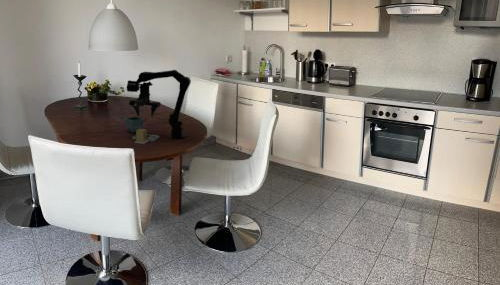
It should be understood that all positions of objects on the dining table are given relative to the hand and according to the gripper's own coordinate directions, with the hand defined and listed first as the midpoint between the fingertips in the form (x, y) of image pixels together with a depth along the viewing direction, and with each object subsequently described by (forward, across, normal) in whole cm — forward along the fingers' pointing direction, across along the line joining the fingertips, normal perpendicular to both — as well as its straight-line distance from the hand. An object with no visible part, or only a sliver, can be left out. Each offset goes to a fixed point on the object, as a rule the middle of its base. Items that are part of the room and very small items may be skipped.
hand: (145, 116), depth 235 cm
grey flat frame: (+12, +3, -6) cm, 14 cm away
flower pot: (+13, -11, +7) cm, 18 cm away
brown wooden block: (+12, +4, -13) cm, 18 cm away
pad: (+12, +4, -13) cm, 18 cm away
